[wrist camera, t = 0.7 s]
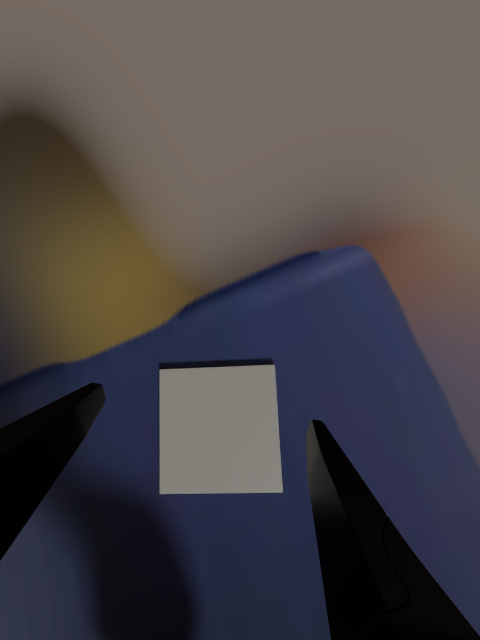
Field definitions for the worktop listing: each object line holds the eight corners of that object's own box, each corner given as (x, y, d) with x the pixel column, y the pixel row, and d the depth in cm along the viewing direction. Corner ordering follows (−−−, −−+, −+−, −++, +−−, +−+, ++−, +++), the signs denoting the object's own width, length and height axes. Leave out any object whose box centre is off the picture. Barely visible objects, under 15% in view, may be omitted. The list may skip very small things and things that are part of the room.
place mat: (281, 488, 23) (282, 492, 22) (162, 490, 23) (159, 494, 23) (274, 364, 24) (274, 364, 24) (161, 369, 25) (159, 369, 24)
